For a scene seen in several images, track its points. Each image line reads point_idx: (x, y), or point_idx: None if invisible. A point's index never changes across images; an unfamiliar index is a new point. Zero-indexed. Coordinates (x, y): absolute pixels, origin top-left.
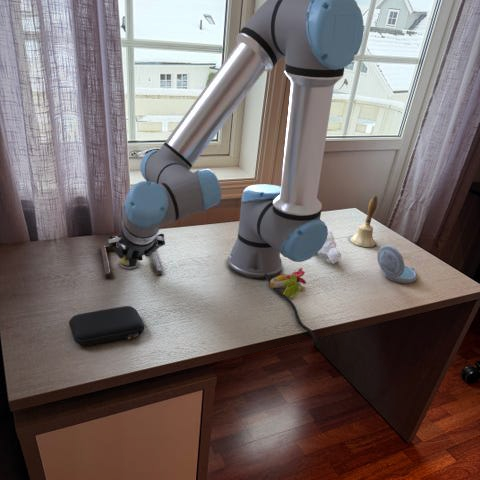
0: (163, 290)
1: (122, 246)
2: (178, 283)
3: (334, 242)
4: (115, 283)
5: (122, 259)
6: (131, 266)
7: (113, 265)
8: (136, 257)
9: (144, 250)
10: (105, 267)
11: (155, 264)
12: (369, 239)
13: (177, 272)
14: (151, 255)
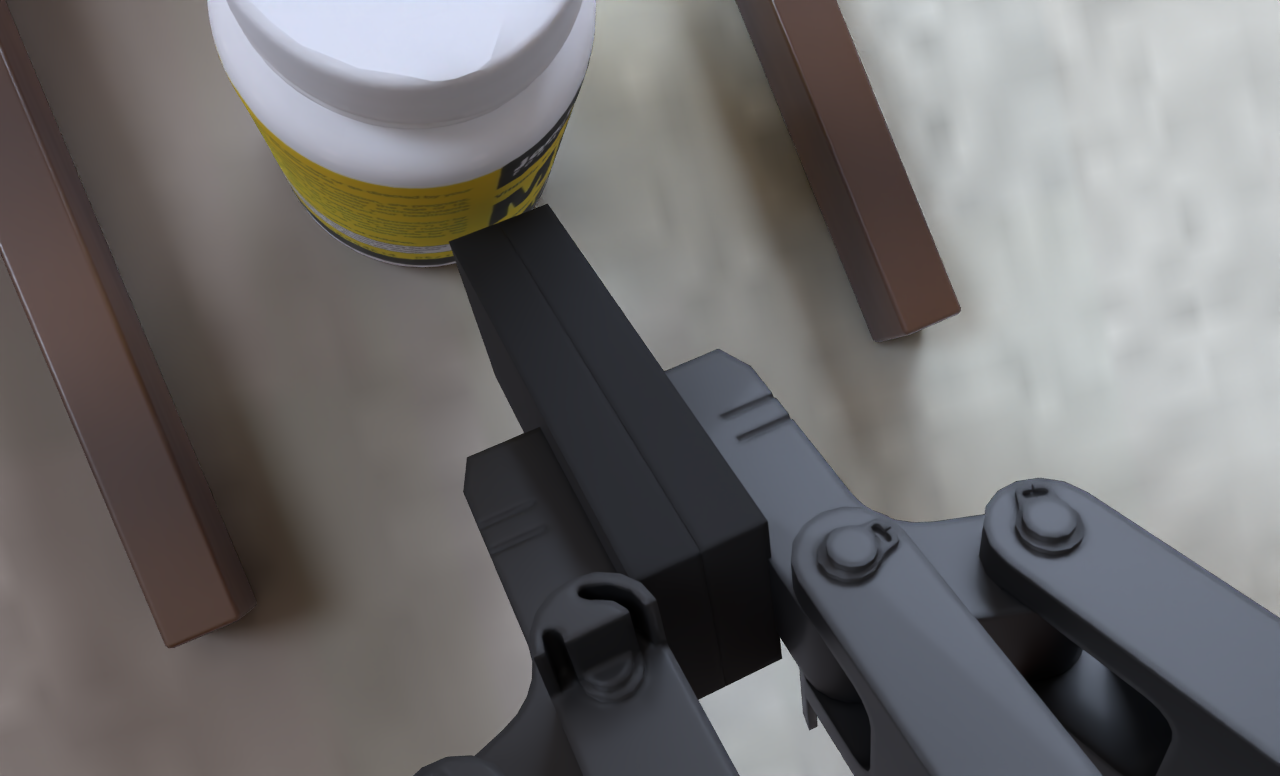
0: None
1: (311, 144)
2: (1164, 475)
3: None
4: (371, 716)
5: (334, 221)
6: None
7: (183, 206)
8: (768, 654)
9: (1009, 642)
10: (103, 449)
11: (838, 163)
12: None
13: (1096, 198)
14: None
